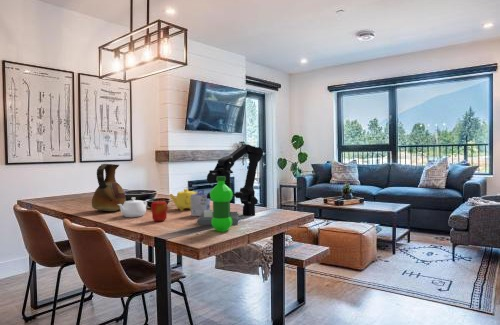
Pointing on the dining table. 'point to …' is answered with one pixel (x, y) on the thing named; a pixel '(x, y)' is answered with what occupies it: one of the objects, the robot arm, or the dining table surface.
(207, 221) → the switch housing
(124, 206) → the teapot
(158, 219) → the red rounded piece
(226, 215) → the plastic bottle
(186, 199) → the teapot
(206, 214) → the pale grey cube
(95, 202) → the ceramic pitcher
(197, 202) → the ink cartridge box
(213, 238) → the dining table surface
